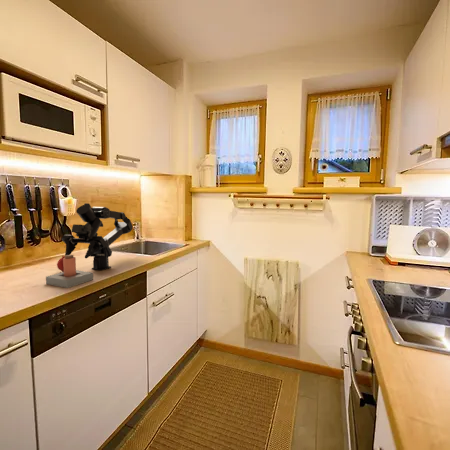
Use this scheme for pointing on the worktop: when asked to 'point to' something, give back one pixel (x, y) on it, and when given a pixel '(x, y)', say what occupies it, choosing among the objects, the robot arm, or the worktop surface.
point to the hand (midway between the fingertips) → (75, 257)
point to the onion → (61, 264)
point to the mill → (69, 266)
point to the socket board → (69, 279)
